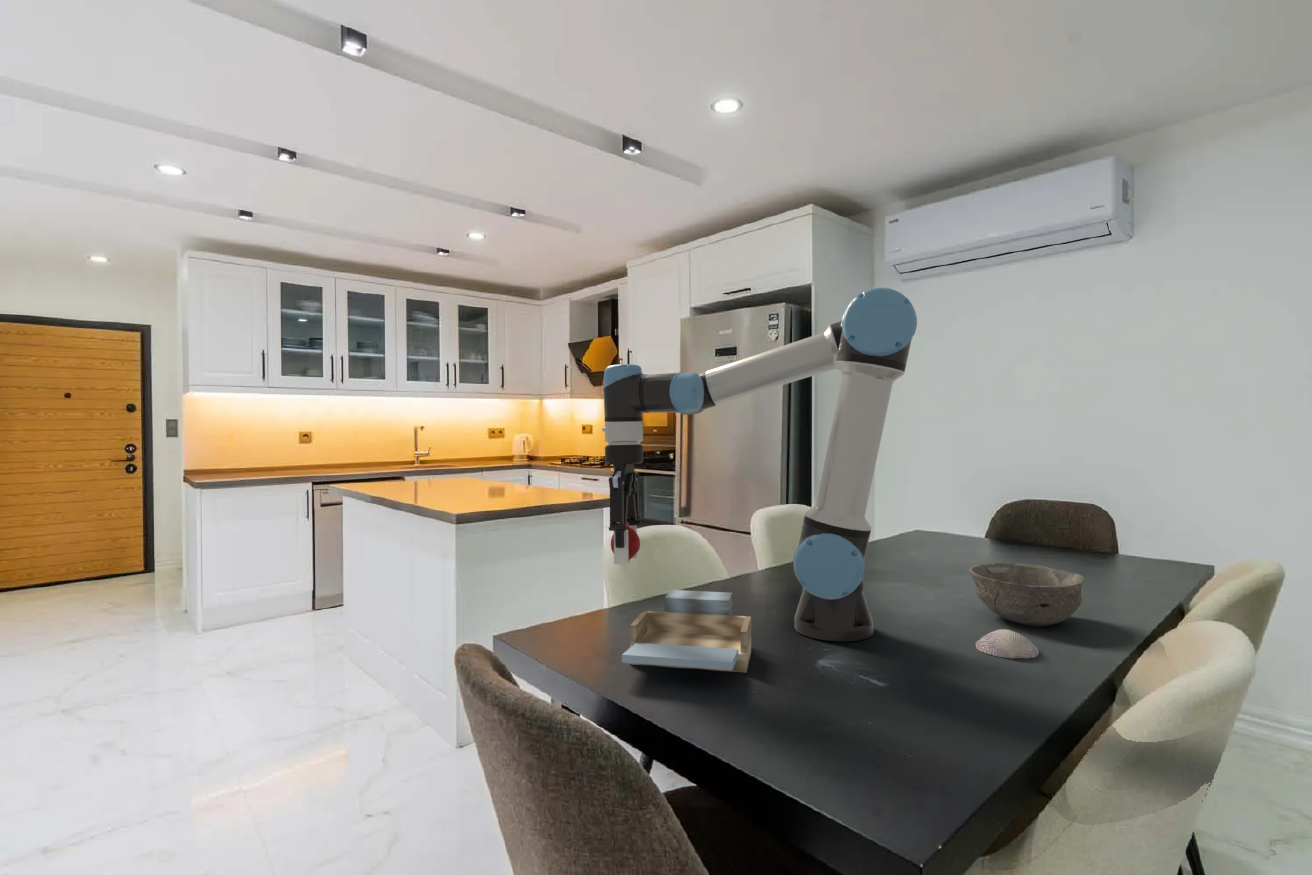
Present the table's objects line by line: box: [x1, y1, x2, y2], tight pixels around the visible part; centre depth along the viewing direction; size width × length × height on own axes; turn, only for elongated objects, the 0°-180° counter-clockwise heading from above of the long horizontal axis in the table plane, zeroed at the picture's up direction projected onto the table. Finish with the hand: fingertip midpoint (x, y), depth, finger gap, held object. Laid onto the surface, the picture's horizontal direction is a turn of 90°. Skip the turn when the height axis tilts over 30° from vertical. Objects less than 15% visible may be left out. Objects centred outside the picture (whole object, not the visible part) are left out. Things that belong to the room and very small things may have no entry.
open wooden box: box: [628, 589, 752, 673], centre depth 117 cm, size 20×17×9 cm
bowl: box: [969, 562, 1085, 627], centre depth 134 cm, size 21×21×10 cm
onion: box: [610, 522, 641, 561], centre depth 128 cm, size 6×6×8 cm
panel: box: [621, 643, 738, 670], centre depth 105 cm, size 17×2×9 cm
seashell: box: [974, 628, 1040, 660], centre depth 116 cm, size 10×6×10 cm
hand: (626, 560), depth 128 cm, fingers closed on onion, 6 cm apart
